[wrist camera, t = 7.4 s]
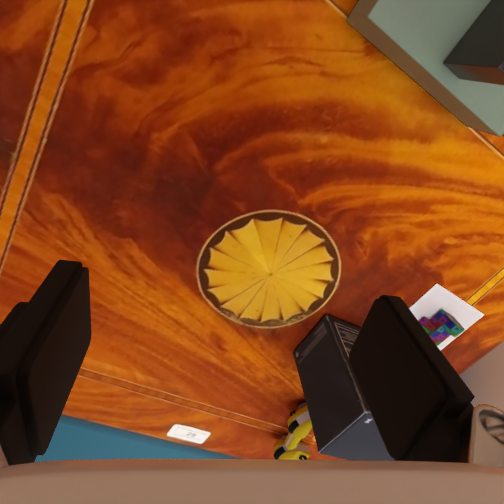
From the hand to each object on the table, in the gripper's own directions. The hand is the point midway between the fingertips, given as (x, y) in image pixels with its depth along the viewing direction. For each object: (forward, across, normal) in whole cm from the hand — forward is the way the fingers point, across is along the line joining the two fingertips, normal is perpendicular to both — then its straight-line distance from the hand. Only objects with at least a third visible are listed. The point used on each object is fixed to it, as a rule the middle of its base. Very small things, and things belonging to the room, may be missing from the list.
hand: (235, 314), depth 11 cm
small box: (+16, -16, +17) cm, 29 cm away
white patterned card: (+16, -24, +13) cm, 32 cm away
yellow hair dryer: (+16, -14, +30) cm, 37 cm away
